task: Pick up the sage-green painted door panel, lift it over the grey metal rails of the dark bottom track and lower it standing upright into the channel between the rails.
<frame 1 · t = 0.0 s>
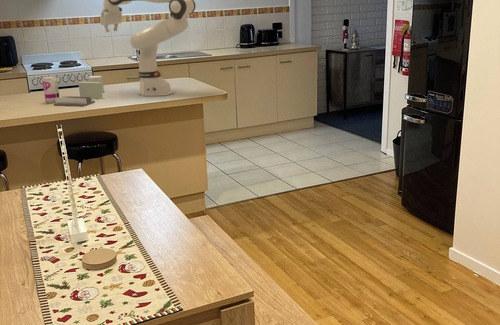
hand: (111, 31, 338), 39 cm above the counter, tool pointing down, fingers open, 8 cm apart
small box: (97, 92, 354), on the counter
supplement can: (53, 102, 327), on the counter
bottom track: (74, 104, 318), on the counter
door panel: (91, 98, 335), on the counter
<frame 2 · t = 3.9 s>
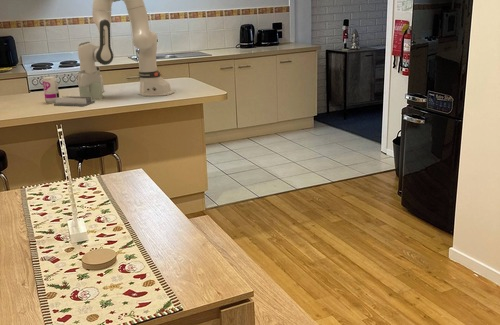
hand: (90, 91, 333), 4 cm above the counter, tool pointing down, fingers closed on door panel, 3 cm apart
door panel: (91, 98, 335), on the counter, touching gripper
everything else where it was.
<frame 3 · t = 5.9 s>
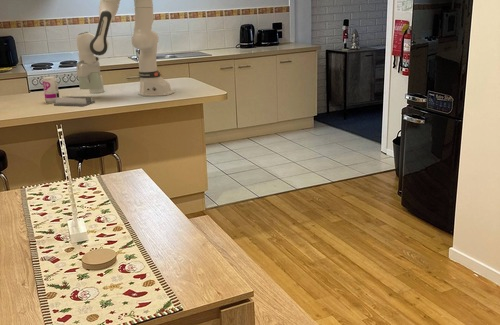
hand: (90, 82, 332), 10 cm above the counter, tool pointing down, fingers closed on door panel, 3 cm apart
door panel: (91, 88, 333), point 6 cm above the counter, touching gripper
everything else where it was.
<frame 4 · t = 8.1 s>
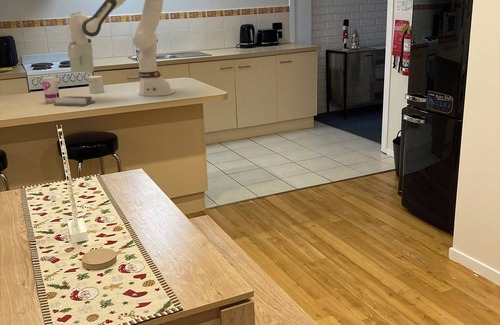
hand: (81, 64, 323), 22 cm above the counter, tool pointing down, fingers closed on door panel, 3 cm apart
door panel: (82, 71, 325), point 17 cm above the counter, touching gripper
everything else where it was.
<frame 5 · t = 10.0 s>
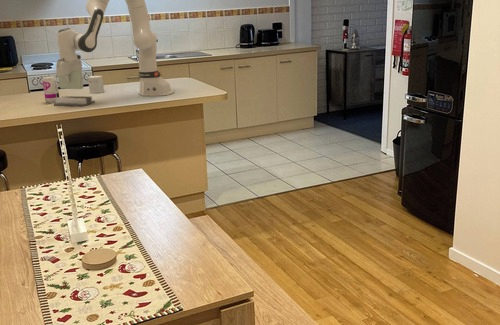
hand: (70, 81, 314), 13 cm above the counter, tool pointing down, fingers closed on door panel, 3 cm apart
door panel: (71, 88, 316), point 9 cm above the counter, touching gripper
everything else where it was.
when the fingers open (6 cm above the counter, at t = 11.9 s): door panel stays where it is, resting on bottom track.
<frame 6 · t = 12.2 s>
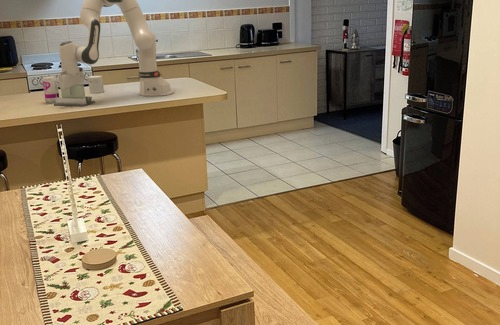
hand: (73, 93, 316), 6 cm above the counter, tool pointing down, fingers open, 6 cm apart
door panel: (74, 102, 318), point 1 cm above the counter, touching bottom track
everything else where it was.
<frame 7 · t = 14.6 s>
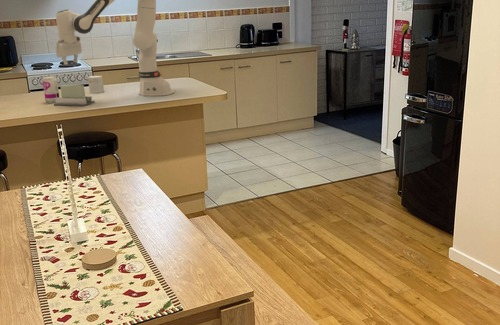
hand: (70, 63, 314), 24 cm above the counter, tool pointing down, fingers open, 8 cm apart
nothing on the counter moved.
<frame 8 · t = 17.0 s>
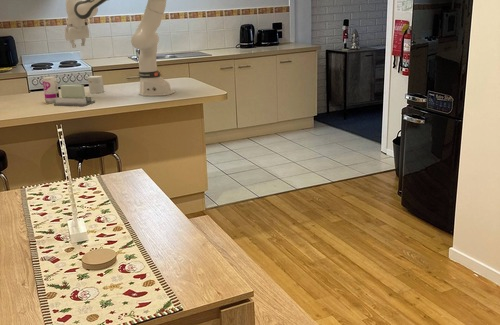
hand: (78, 46, 331), 31 cm above the counter, tool pointing down, fingers open, 8 cm apart
nothing on the counter moved.
at the end: door panel inside the target area on the bottom track (0.0 cm from its centre), point 1.0 cm above the bottom track's base; door panel tilted 0°; the gripper is holding nothing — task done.
